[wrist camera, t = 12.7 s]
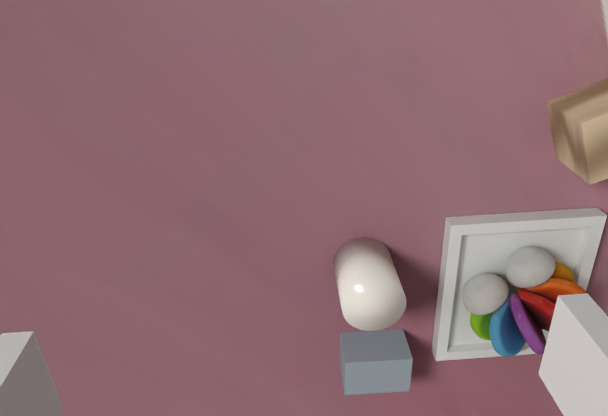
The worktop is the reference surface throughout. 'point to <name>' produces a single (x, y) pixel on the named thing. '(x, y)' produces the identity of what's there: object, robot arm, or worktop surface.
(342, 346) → the slate block
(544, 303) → the multicoloured rounded cluster
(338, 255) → the white domed cylinder
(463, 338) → the tray
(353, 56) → the worktop surface
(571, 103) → the oak block
